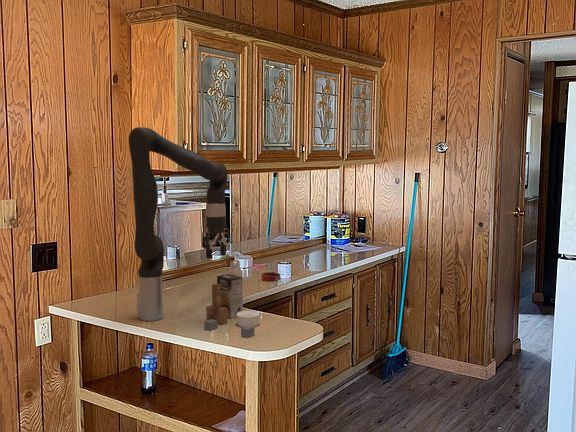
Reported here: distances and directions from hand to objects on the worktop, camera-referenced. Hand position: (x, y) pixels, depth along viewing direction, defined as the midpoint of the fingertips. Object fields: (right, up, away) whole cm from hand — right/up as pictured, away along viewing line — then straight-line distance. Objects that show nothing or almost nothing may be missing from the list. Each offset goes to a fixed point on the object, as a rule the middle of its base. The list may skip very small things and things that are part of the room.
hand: (216, 256), depth 241 cm
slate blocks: (+6, -27, -10) cm, 30 cm away
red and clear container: (+19, -17, +81) cm, 85 cm away
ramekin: (+12, -26, 0) cm, 29 cm away
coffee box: (+4, -25, +13) cm, 28 cm away
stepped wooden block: (0, -26, +3) cm, 26 cm away
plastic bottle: (+5, -23, +25) cm, 35 cm away
